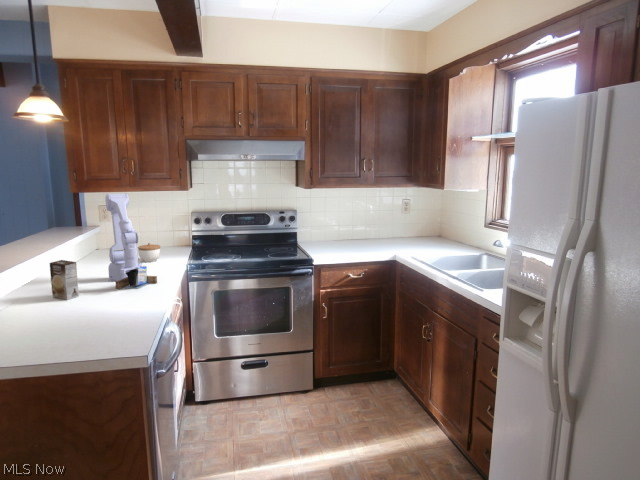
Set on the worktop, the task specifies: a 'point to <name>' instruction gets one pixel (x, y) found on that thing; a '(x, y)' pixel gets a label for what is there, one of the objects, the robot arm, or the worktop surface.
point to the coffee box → (64, 279)
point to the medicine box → (141, 275)
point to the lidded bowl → (149, 252)
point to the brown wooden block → (125, 281)
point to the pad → (137, 286)
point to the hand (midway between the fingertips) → (132, 285)
